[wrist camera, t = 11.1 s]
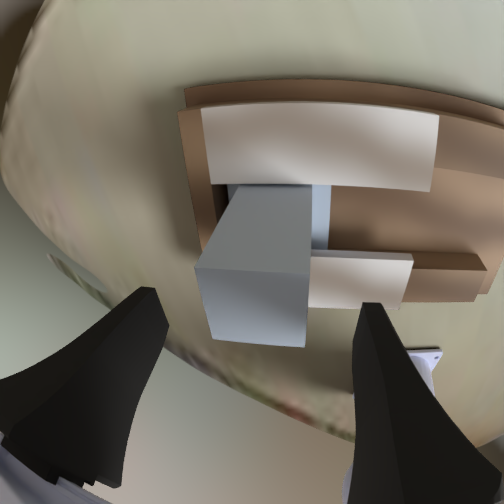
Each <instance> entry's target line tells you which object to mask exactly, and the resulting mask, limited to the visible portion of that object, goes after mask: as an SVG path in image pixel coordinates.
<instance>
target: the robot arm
mask: <svg viewBox="0 0 504 504" xmlns="http://www.w3.org/2000/svg"><path fill="white" fill-rule="evenodd" d="M168 328H169V324H168V321H167V319H166V316H165V314H164V311H163V308H162V306H161V303H160V300H159V298H158V295H157V292H156V290H155V288H151V287H142V286H141V287H140V288H138V289H137V290H136V291H134V292H133V293H132V294H131V295H129V296H128V297H127V298H126V299H124V300H123V301H122V302H121V303H120V304H118V305H117V306H116V307H115V308H114V309H112V310H111V311H110V312H109V313H108V314H106V315H105V316H104V317H103V318H102V319H101V320H99V321H98V322H97V323H95V324H94V325H93V326H92V327H90V328H89V329H88V330H86V331H85V332H84V333H83V334H81V335H80V336H79V337H77V338H76V339H75V340H73V341H72V342H71V343H69V344H68V345H66V346H65V347H63V348H62V349H60V350H59V351H57V352H56V353H54V354H53V355H51V356H49V357H47V358H46V359H44V360H42V361H41V362H38V363H37V364H35V365H33V366H31V367H29V368H27V369H25V370H23V371H21V372H18V373H16V374H14V375H11V376H9V377H6V378H4V379H0V504H112V503H110V502H108V501H106V500H104V499H102V498H100V497H98V496H96V495H94V494H92V493H90V492H88V491H86V490H85V489H83V488H82V487H83V485H84V482H85V483H87V484H89V485H91V486H93V485H94V483H95V480H96V481H98V482H100V483H102V484H105V485H107V486H109V487H111V488H118V487H120V486H121V482H122V471H123V462H124V457H125V451H126V446H127V441H128V437H129V433H130V429H131V425H132V421H133V418H134V415H135V411H136V408H137V405H138V402H139V400H140V397H141V394H142V392H143V390H144V387H145V386H146V383H147V381H148V379H149V377H150V374H151V372H152V370H153V368H154V366H155V364H156V361H157V359H158V357H159V355H160V353H161V350H162V348H163V345H164V342H165V338H166V335H167V332H168ZM442 354H443V352H442V349H429V350H406V349H405V347H404V346H403V344H402V342H401V340H400V338H399V336H398V334H397V333H396V331H395V329H394V327H393V325H392V323H391V321H390V319H389V317H388V315H387V313H386V311H385V309H384V307H383V305H382V304H381V303H379V302H362V306H361V311H360V315H359V319H358V323H357V327H356V331H355V335H354V338H353V350H352V373H353V386H354V393H353V399H354V401H355V418H356V439H355V450H354V461H353V463H352V464H351V466H350V467H349V469H348V470H347V472H346V474H345V477H344V481H343V487H342V499H343V504H499V503H501V502H502V501H503V499H504V493H503V478H502V473H501V472H500V471H499V470H498V469H497V468H495V466H493V465H492V464H491V463H490V462H489V461H488V460H487V459H486V458H485V457H484V456H483V455H482V454H481V453H480V452H479V451H478V450H477V449H476V448H475V447H474V445H473V444H472V443H471V442H470V441H469V440H468V439H467V438H466V436H465V435H464V434H463V433H462V432H461V430H460V429H459V428H458V427H457V426H456V424H455V423H454V422H453V421H452V420H451V418H450V417H449V416H448V414H447V413H446V412H445V410H444V409H443V408H442V406H441V405H440V404H439V402H438V401H437V399H436V398H435V393H434V387H433V381H432V376H431V371H432V370H433V368H434V367H435V365H436V364H437V362H438V361H439V359H440V357H441V356H442Z"/></svg>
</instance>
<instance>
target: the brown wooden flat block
mask: <svg viewBox="0 0 504 504" xmlns="http://www.w3.org/2000/svg"><path fill="white" fill-rule="evenodd" d="M184 92H185V99H186V107H187V108H185V109H183V110H180V111H178V112H177V114H178V120H179V127H180V133H181V140H182V146H183V152H184V158H185V164H186V170H187V176H188V181H189V187H190V192H191V198H192V203H193V208H194V214H195V219H196V224H197V229H198V234H199V239H200V244H201V249H202V252H203V250H204V248H205V246H206V244H207V243H208V241H209V239H210V237H211V235H212V233H213V232H214V230H215V228H216V226H217V224H218V223H219V221H220V219H221V217H222V215H223V214H224V212H225V210H226V208H227V206H228V205H229V196H228V188H227V184H315V185H331V202H330V221H329V236H328V250H316V249H311V261H310V282H309V298H308V307H318V308H344V309H361V306H362V302H379V303H381V304H382V305H383V307H384V309H385V310H399V307H400V304H401V302H474V300H475V298H476V296H477V294H487V293H488V291H489V289H490V287H491V285H492V283H493V281H494V278H495V276H496V274H497V272H498V269H499V267H500V264H501V262H502V260H503V257H504V110H502V109H499V108H496V107H493V106H490V105H486V104H483V103H479V102H476V101H472V100H468V99H464V98H460V97H456V96H452V95H448V94H443V93H438V92H433V91H428V90H423V89H417V88H411V87H404V86H397V85H390V84H382V83H372V82H361V81H348V80H328V79H275V80H255V81H241V82H230V83H220V84H212V85H204V86H197V87H190V88H186V89H184Z"/></svg>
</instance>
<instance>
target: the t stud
mask: <svg viewBox="0 0 504 504" xmlns="http://www.w3.org/2000/svg"><path fill="white" fill-rule="evenodd" d="M227 188H228V196H229V205H228V206H227V208H226V210H225V212H224V214H223V215H222V217H221V219H220V221H219V223H218V224H217V226H216V228H215V230H214V232H213V233H212V235H211V237H210V239H209V241H208V243H207V244H206V246H205V248H204V250H203V252H202V254H201V256H200V257H199V259H198V261H197V263H196V265H195V267H194V269H195V273H196V277H197V281H198V285H199V289H200V293H201V297H202V301H203V305H204V308H205V312H206V316H207V320H208V323H209V327H210V331H211V334H212V338H213V339H217V340H226V341H234V342H244V343H254V344H265V345H277V346H291V347H305V339H306V326H307V313H308V298H309V282H310V261H311V249H316V250H328V236H329V221H330V202H331V185H315V184H227Z"/></svg>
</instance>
